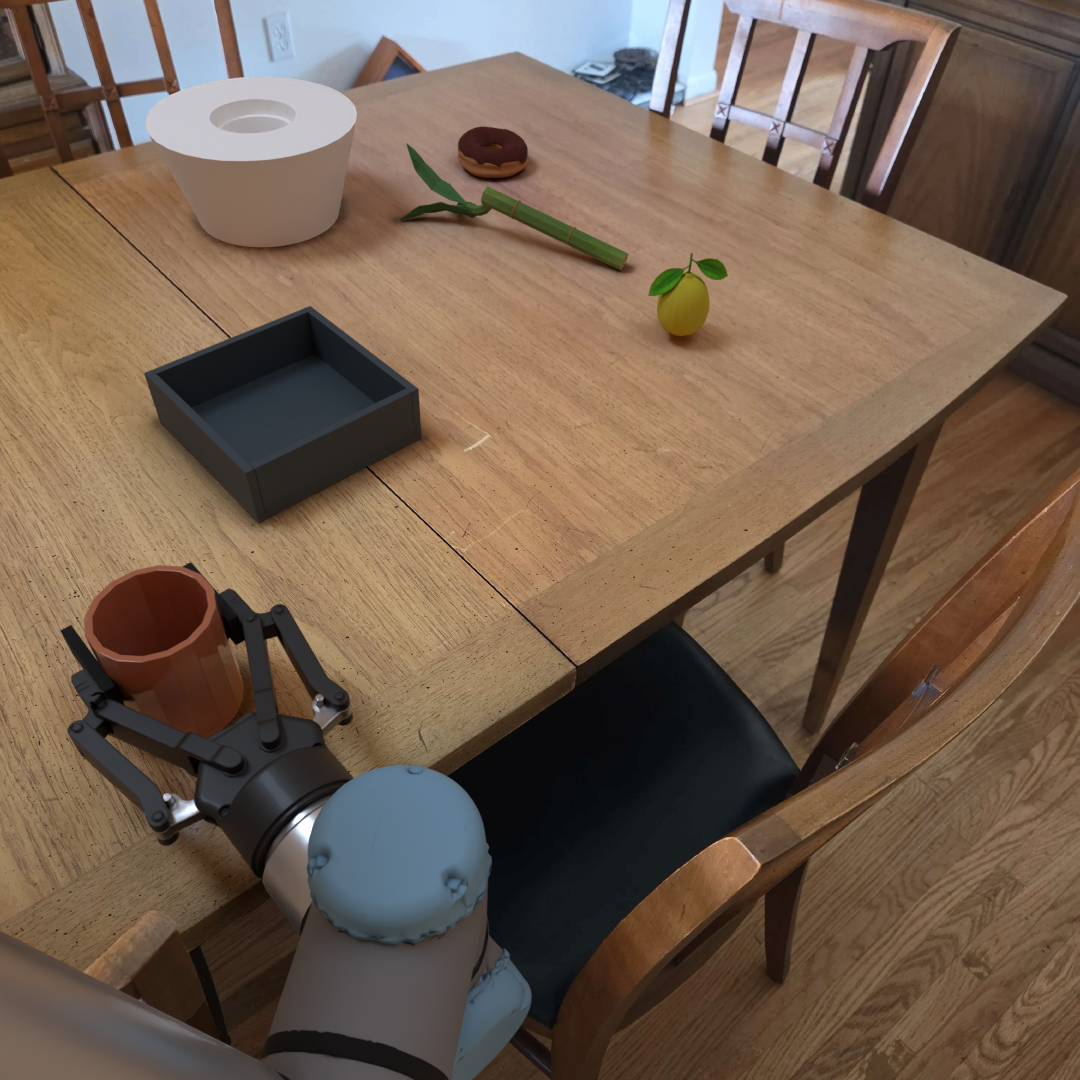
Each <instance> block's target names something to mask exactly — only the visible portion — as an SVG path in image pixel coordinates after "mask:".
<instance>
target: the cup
mask: <svg viewBox="0 0 1080 1080" xmlns="http://www.w3.org/2000/svg"><path fill="white" fill-rule="evenodd" d="M201 574H202V573H201ZM201 574H199V573H196V572H194V571H192V570H189V569H187V568H184V567H182V566H181V565H164V564H163V565H162V564H158V565H151V566H149V567H144V568H139V569H135V570H132V571H130V572H128V573H126V574H123V575H122V576H120V577H118V578H116V579H114V580H113V581H112V580H111V582H109V583H108V584H107V585H106V586H105V587H104V588H103V589H102V590H100V592H99V593H98V594H96V595H95V596H94V597H93V599H92V600H91V603H90V605H89V607H88V609H87V611H86V614H85V615H84V617H83V622H84V624H83V625H84V637H85V639H86V642H87V643H88V646H89V647H90V649H91V652H92V654H93V656H94V657H95V658H96V660H97V661H98V663H99V664H100V665H101V667H102V668H103V670H104V671H105V672H106V674H107V675H108V676H109V678H110V679H111V680H112V682H113V683H114V684H115V686H116V688H117V690H118V692H119V694H120V696H121V698H122V700H123V702H124V704H125V706H127V707H129V708H131V709H134V710H136V711H138V712H140V713H143V714H145V715H147V716H149V717H151V718H154V719H156V720H158V721H160V722H163V723H165V724H167V725H169V726H172V727H174V728H176V729H178V730H181V731H183V732H185V733H189V732H193V733H195V734H198V735H200V736H202V737H204V738H208V737H210V736H211V735H213V734H214V733H216V732H218V731H220V730H223V729H225V728H227V727H228V725H229V724H230V723H231V722H232V720H233V719H234V718H235V717H236V715H237V714H238V711H239V710H240V708H241V705H242V702H243V699H244V692H245V691H244V690H245V687H244V682H243V677H242V674H241V669H240V666H239V663H238V660H237V657H236V653H235V651H234V648H233V645H232V640H231V639H230V638H229V635H228V632H227V629H226V626H225V623H224V620H223V617H222V614H221V611H220V608H219V605H218V602H217V599H216V595H215V592H214V589H215V588H214V586H213V585H212V584H211V583H210V582H209V581H208V580H207V579H206V580H207V581H208V582H209V583H210V584H211V585H212V586H213V587H212V586H211V585H210V584H209V583H208V582H207V581H206V580H205V578H206V577H205V576H204V575H203V574H202V575H203V576H204V577H205V578H204V577H203V576H202V575H201ZM213 588H214V589H213Z"/></svg>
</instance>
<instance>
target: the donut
mask: <svg viewBox="0 0 1080 1080" xmlns="http://www.w3.org/2000/svg"><path fill="white" fill-rule="evenodd" d="M528 151H529V149H528V145H527V144H526V142H525V139H523V138H522V136H520V135H519V134H518V133H516V132H514V131H512V130H510V129H508V128H499V127H493V126H476V127H472V128H470V129H469V130H467V131H466V132H464V133H463V134H462V135H461V136H460V137H459V139H458V142H457V159H458V163H459V165H461V167H462V168H464V169H465V170H466V171H467V172H469V173H470V174H472V175H473V176H475V177H478V178H485V179H503V178H508V177H512V176H514V175H517V174H518V173H519V172H521V171H522V170H524V169H526V167H527V166H528V165H529V162H530V161H529V156H528V155H529V154H528V153H529V152H528Z"/></svg>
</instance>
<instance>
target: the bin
mask: <svg viewBox="0 0 1080 1080" xmlns="http://www.w3.org/2000/svg"><path fill="white" fill-rule="evenodd" d="M143 374H144V377H145V380H146V383H147V386H148V390H149V393H150V396H151V399H152V401H153V404H154V408H155V411H156V414H157V417H158V420H159V423H160V424H161V426H162V427H164V428H165V429H166V430H167V431H168V432H169V434H170V435H171V436H172V437H174V438H175V439H176V441H178V443H179V444H180V445H181V446H182V447H183V448H184V449H185V450H186V451H187V452H188V453H189V454H190V455H191V456H192V457H193V458H194V459H195V460H196V461H197V462H198V463H199V464H200V465H201V466H202V467H203V468H204V469H205V470H206V471H207V473H209V474H210V475H211V476H212V477H213V478H214V480H215V481H217V483H218V484H219V485H220V486H222V487H223V488H224V489H225V491H226V492H227V493H228V494H229V495H230V496H231V497H232V498H233V499H234V500H235V501H236V502H237V503H238V504H239V505H240V506H241V507H242V508H243V509H244V510H245V511H246V512H247V513H248V514H249V515H250V516H251V517H252V518H253V519H254V520H255V521H256V522H257V523H258V524H259V523H261V522H263V521H265V520H268V519H269V518H271V517H274V516H275V515H277V514H279V513H281V512H283V511H285V510H286V509H288V508H290V507H292V506H294V505H296V504H298V503H300V502H302V501H303V500H306V499H307V498H310V497H311V496H313V495H315V494H317V493H319V492H321V491H323V490H325V489H326V488H329V487H330V486H333V485H335V484H336V483H338V482H340V481H343V480H344V479H346V478H347V477H348V478H349V476H352V475H353V474H355V473H358V472H359V471H361V470H363V469H365V468H367V467H369V466H371V465H373V464H375V463H377V462H378V461H380V460H382V459H384V458H386V457H388V456H390V455H391V454H393V453H395V452H398V451H399V450H401V449H403V448H405V447H407V446H410V445H411V444H413V443H415V442H416V441H418V440H421V439H422V438H423V437H422V421H421V407H420V405H421V404H420V391H419V388H418V387H417V386H416V385H415V384H414V383H412V382H411V381H410V380H408V379H407V378H405V377H404V376H403V375H401V374H400V373H399V372H398V371H396V370H395V369H394V368H392V367H391V366H390V365H388V364H387V363H386V362H384V361H383V360H382V359H381V358H379V357H378V356H376V355H375V354H374V353H372V352H371V351H370V350H369V349H368V348H367V347H365V346H363V345H362V344H361V343H360V342H358V340H355V339H354V338H353V337H352V336H351V335H349V334H348V333H346V332H345V331H344V330H342V329H341V328H340V327H339V326H337V325H336V323H335V324H334V322H332V321H331V320H330V319H328V318H327V317H325V316H324V314H322V313H320V312H319V311H318V310H316V308H314V307H313V306H311V305H308V306H306V307H304V308H302V309H301V308H300V309H299V310H297V311H294V312H292V313H289V314H287V315H284V316H282V317H279V318H277V319H273V320H271V321H269V322H267V323H264V324H262V325H260V326H259V325H258V326H257V327H254V328H252V329H250V330H247V331H244V332H242V333H240V334H236V335H234V336H231V337H229V338H227V339H224V340H222V341H219V342H218V343H217V342H216V343H215V344H213V345H209V346H207V347H205V348H202V349H200V350H198V351H194V352H193V353H190V354H188V355H185V356H183V357H180V358H178V359H176V360H172V361H170V362H168V363H165V364H163V365H160V366H158V367H155V368H153V369H150V370H147V371H145V372H143Z"/></svg>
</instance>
